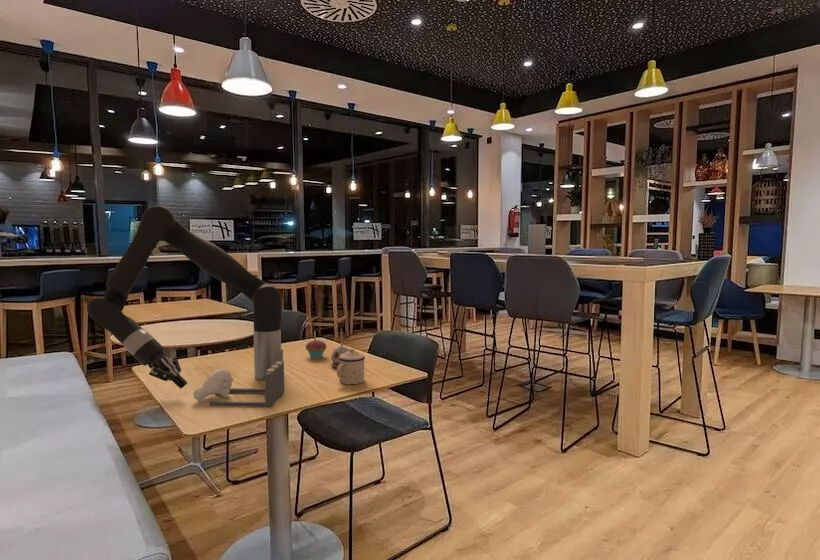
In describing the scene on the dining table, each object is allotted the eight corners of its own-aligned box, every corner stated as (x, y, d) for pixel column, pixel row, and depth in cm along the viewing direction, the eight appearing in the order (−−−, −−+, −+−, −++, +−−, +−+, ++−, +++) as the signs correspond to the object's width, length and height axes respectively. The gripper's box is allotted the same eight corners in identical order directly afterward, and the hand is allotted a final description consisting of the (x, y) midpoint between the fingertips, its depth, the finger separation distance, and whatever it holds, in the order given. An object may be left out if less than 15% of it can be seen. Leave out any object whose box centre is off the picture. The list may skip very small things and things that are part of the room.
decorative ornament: (328, 365, 182) (328, 327, 181) (346, 362, 186) (346, 325, 185) (336, 370, 176) (335, 331, 174) (354, 367, 179) (354, 329, 178)
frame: (285, 391, 150) (284, 359, 149) (271, 407, 136) (270, 372, 135) (227, 391, 151) (227, 359, 150) (208, 406, 137) (207, 371, 136)
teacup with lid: (350, 375, 168) (350, 344, 167) (370, 380, 163) (370, 347, 162) (327, 384, 158) (327, 351, 157) (347, 389, 153) (347, 354, 152)
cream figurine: (233, 368, 146) (198, 381, 136) (236, 393, 147) (202, 408, 137) (221, 365, 149) (186, 377, 139) (224, 390, 151) (189, 404, 141)
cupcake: (324, 360, 190) (323, 331, 189) (303, 359, 190) (303, 331, 189) (328, 354, 198) (327, 327, 197) (308, 354, 198) (307, 327, 197)
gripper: (138, 343, 136) (181, 384, 137) (163, 333, 149) (202, 371, 150) (121, 360, 136) (164, 401, 137) (148, 349, 149) (186, 387, 150)
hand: (184, 385), depth 143 cm, fingers closed
